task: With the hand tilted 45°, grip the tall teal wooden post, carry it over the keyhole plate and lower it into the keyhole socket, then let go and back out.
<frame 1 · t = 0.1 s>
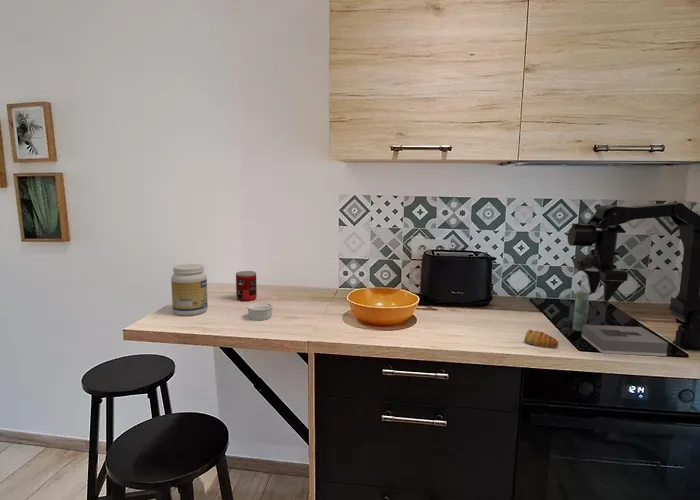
hand: (599, 296, 138), 15 cm above the worktop, tool pointing down, fingers open, 9 cm apart
teal post: (579, 329, 152), on the worktop
ramekin: (260, 318, 159), on the worktop
canned food: (246, 299, 182), on the worktop
keyhole plate: (621, 345, 138), on the worktop
pastry: (538, 344, 139), on the worktop
supplement tub: (190, 312, 164), on the worktop
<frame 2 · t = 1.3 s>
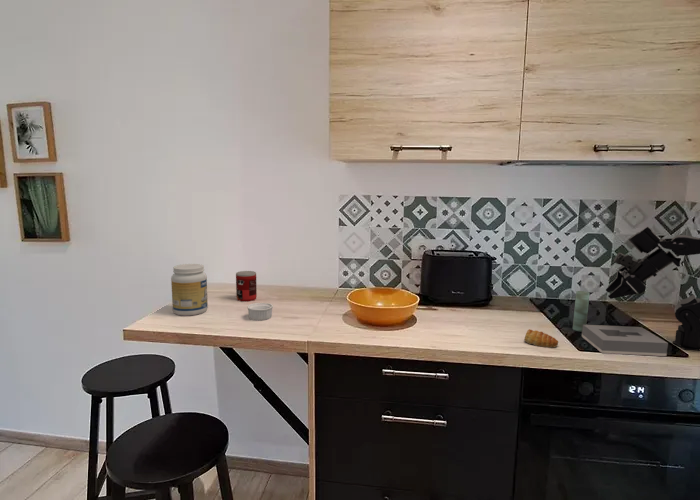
hand: (607, 294, 147), 13 cm above the worktop, tool tilted 45°, fingers open, 9 cm apart
nothing on the worktop moved.
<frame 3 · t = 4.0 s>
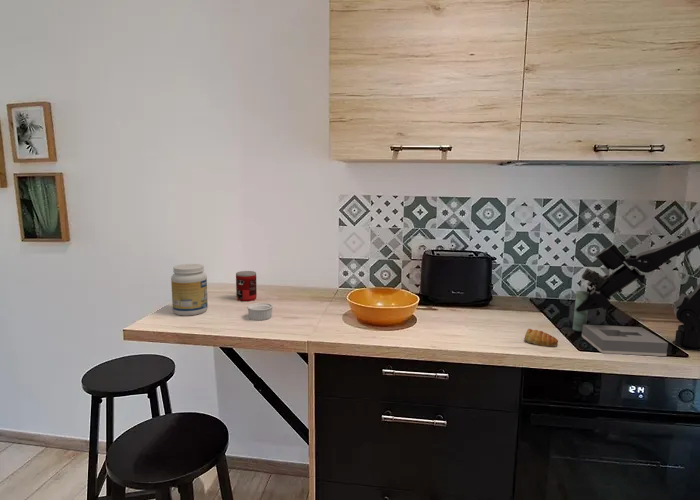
hand: (576, 308, 152), 7 cm above the worktop, tool tilted 45°, fingers closed on teal post, 4 cm apart
teal post: (579, 329, 152), on the worktop, touching gripper
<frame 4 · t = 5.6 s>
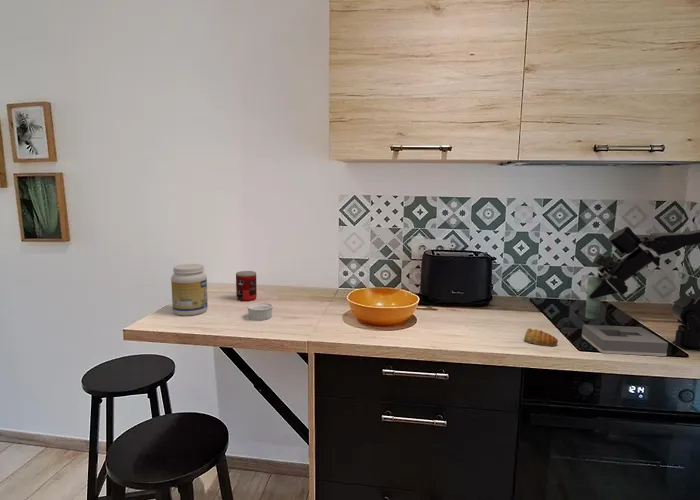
hand: (589, 295, 145), 13 cm above the worktop, tool tilted 45°, fingers closed on teal post, 4 cm apart
teal post: (592, 317, 145), point 6 cm above the worktop, touching gripper
when the fingers open (9 cm above the worktop, at t = 7.7 s): teal post stays where it is, resting on keyhole plate.
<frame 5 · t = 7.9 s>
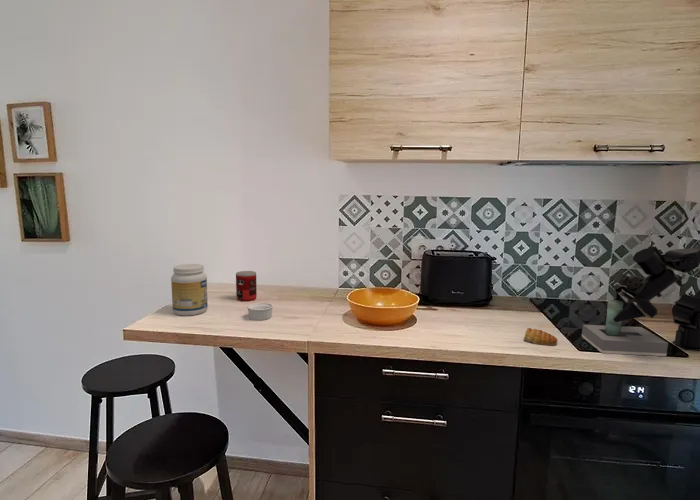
hand: (609, 317, 137), 9 cm above the worktop, tool tilted 45°, fingers open, 6 cm apart
teal post: (611, 342, 138), point 1 cm above the worktop, touching keyhole plate
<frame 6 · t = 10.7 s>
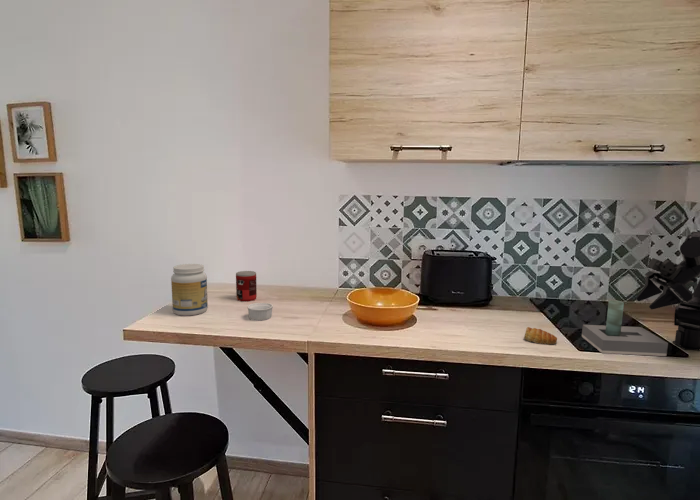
hand: (643, 304, 135), 14 cm above the worktop, tool tilted 45°, fingers open, 9 cm apart
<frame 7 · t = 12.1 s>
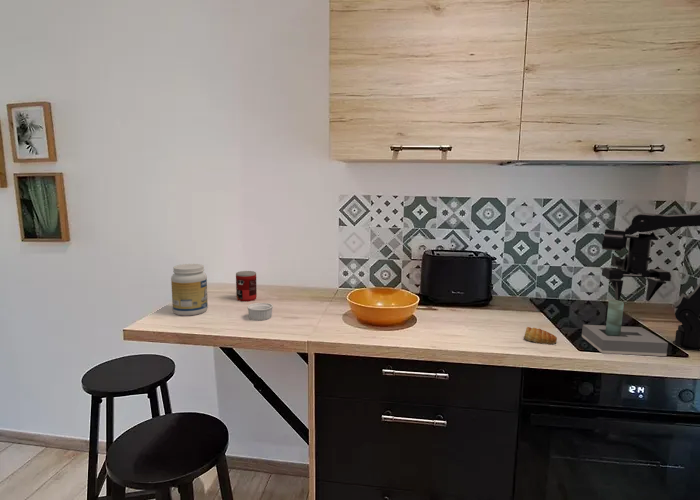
hand: (632, 300, 145), 12 cm above the worktop, tool pointing down, fingers open, 9 cm apart
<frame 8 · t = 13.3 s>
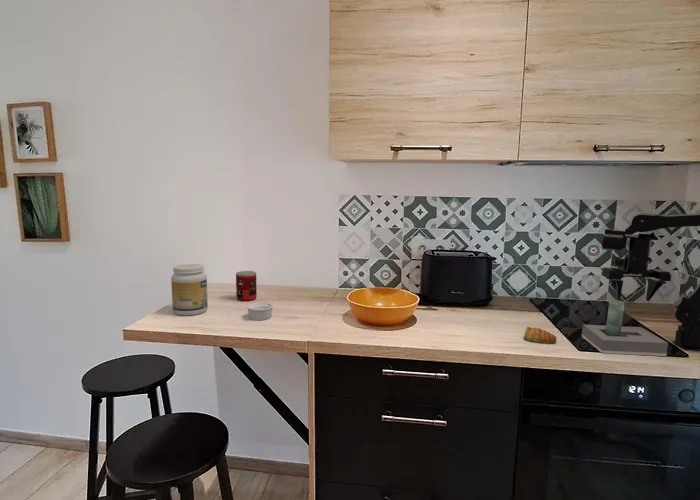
hand: (632, 300, 145), 12 cm above the worktop, tool pointing down, fingers open, 9 cm apart
at the end: teal post 0.0 cm from the target spot on the keyhole plate, point 0.8 cm above the keyhole plate's base; teal post tilted 1°; the gripper is holding nothing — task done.
